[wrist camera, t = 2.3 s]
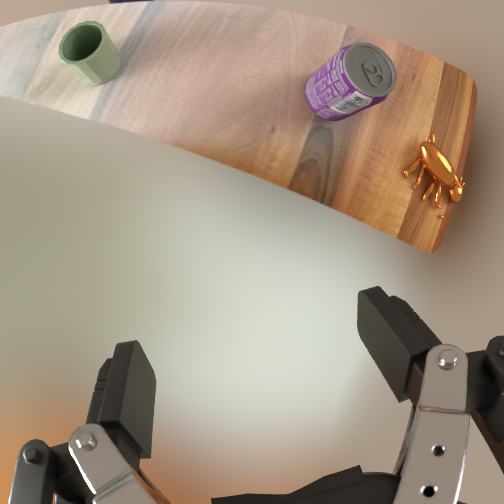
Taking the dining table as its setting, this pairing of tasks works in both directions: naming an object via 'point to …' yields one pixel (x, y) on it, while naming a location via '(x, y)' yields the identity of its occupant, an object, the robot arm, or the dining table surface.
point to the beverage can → (351, 82)
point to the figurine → (436, 172)
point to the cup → (90, 53)
